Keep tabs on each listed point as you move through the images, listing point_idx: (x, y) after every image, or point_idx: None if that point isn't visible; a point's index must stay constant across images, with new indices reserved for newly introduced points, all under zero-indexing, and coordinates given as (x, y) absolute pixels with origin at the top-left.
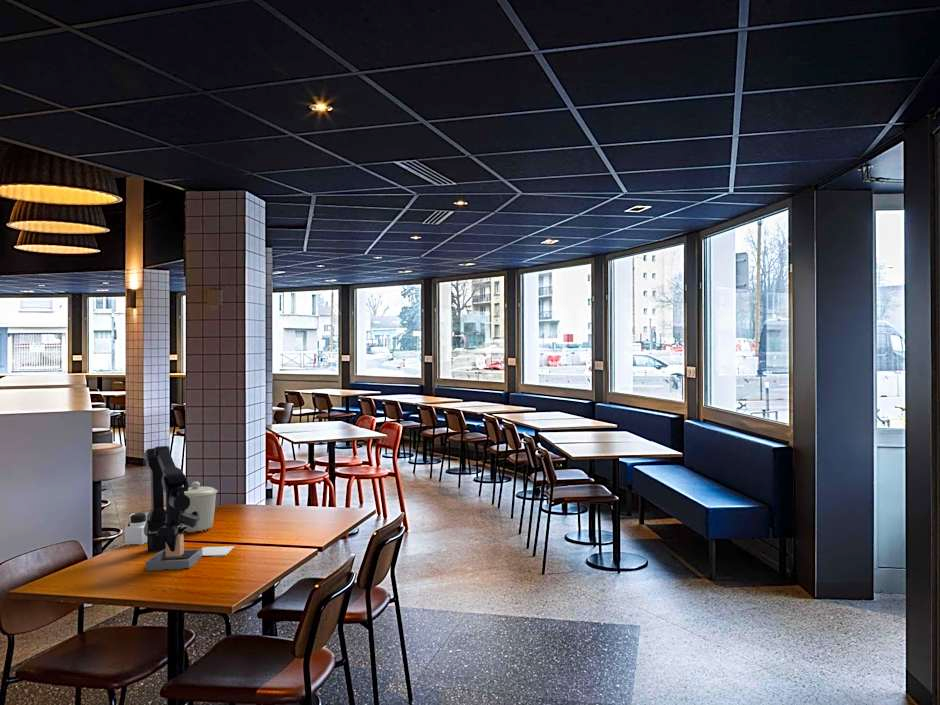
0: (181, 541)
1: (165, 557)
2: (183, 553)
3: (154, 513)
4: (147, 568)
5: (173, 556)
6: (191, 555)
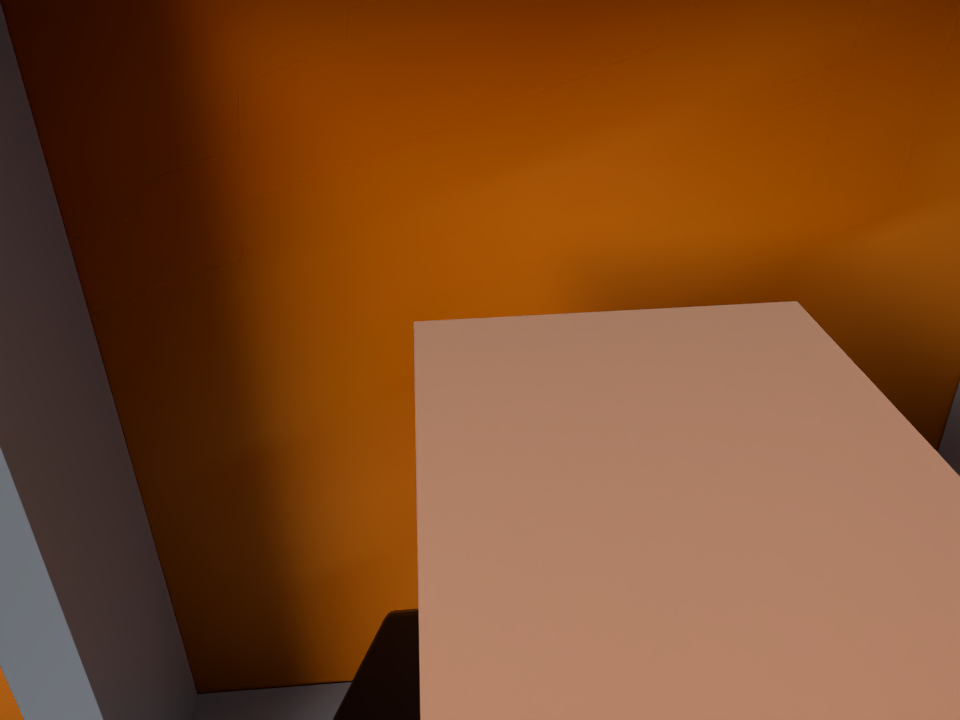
0: (862, 718)
1: (182, 692)
2: (453, 321)
3: None
4: None
5: (139, 580)
6: (3, 162)
